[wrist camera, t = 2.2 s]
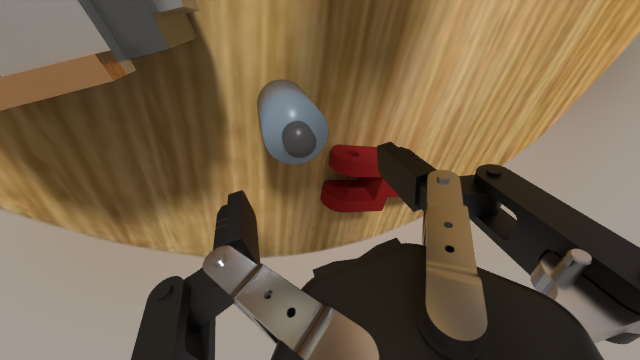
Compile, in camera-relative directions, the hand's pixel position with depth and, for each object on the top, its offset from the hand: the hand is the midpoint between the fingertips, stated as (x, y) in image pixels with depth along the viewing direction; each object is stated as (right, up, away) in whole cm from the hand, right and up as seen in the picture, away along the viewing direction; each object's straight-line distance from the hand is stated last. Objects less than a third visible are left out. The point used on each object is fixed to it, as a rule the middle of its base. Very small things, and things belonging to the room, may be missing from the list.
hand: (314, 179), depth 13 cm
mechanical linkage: (+8, +2, +20) cm, 22 cm away
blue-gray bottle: (-4, +8, +11) cm, 14 cm away
